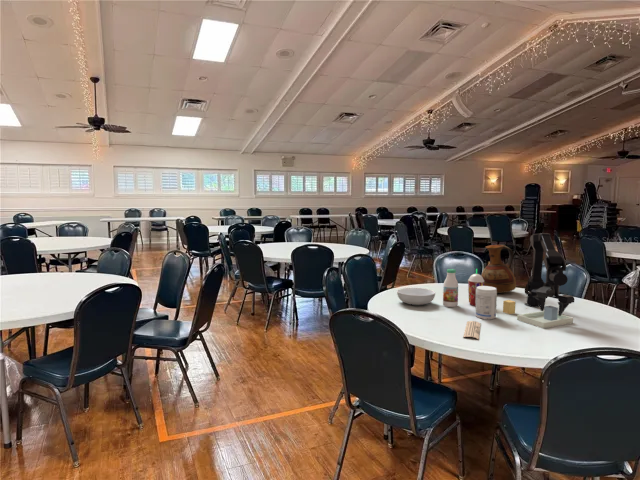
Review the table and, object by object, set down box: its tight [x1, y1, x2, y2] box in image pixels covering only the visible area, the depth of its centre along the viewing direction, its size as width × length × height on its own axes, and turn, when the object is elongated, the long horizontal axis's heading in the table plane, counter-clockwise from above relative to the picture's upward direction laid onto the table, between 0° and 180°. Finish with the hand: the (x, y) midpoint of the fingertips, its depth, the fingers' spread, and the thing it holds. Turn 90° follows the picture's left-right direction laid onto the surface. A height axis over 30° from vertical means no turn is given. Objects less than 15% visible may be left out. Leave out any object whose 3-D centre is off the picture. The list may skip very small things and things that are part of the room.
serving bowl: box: [396, 287, 436, 306], centre depth 228 cm, size 21×21×7 cm
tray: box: [516, 310, 574, 329], centre depth 194 cm, size 20×14×2 cm
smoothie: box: [467, 268, 484, 307], centre depth 224 cm, size 8×8×20 cm
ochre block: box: [502, 299, 516, 315], centre depth 209 cm, size 4×4×6 cm
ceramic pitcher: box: [480, 244, 517, 294], centre depth 254 cm, size 20×20×30 cm
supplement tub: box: [474, 286, 498, 320], centre depth 201 cm, size 10×10×15 cm
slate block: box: [543, 305, 559, 321], centre depth 195 cm, size 4×4×6 cm
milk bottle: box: [442, 268, 459, 308], centre depth 222 cm, size 8×8×20 cm
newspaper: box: [463, 320, 482, 341], centre depth 180 cm, size 24×7×2 cm, turn 157°
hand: (550, 313), depth 195 cm, fingers open, 9 cm apart
